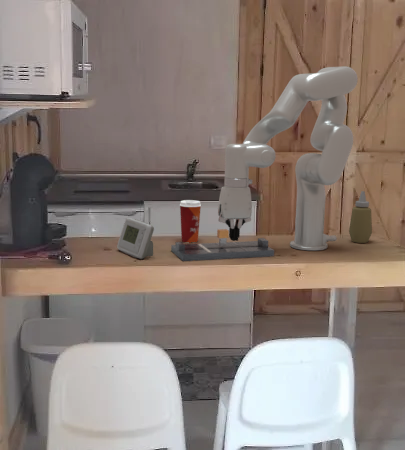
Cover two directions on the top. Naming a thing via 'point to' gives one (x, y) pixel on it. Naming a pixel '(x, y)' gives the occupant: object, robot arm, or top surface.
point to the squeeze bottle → (361, 221)
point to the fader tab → (222, 236)
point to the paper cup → (190, 220)
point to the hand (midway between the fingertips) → (234, 239)
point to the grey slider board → (222, 250)
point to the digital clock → (136, 239)
